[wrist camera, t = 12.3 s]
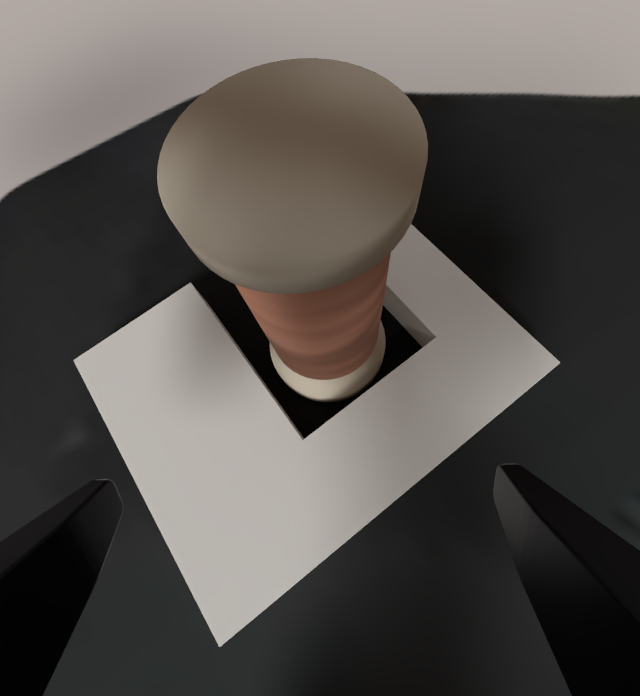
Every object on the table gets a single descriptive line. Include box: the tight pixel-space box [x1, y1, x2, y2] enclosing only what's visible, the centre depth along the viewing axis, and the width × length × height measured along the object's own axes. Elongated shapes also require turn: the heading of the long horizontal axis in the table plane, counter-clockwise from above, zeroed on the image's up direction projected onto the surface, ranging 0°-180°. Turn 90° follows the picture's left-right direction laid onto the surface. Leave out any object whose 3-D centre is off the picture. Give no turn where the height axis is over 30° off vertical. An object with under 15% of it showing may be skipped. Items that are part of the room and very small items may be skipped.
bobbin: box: [157, 58, 428, 402], centre depth 15 cm, size 7×7×14 cm
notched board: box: [74, 224, 560, 647], centre depth 20 cm, size 20×16×2 cm
